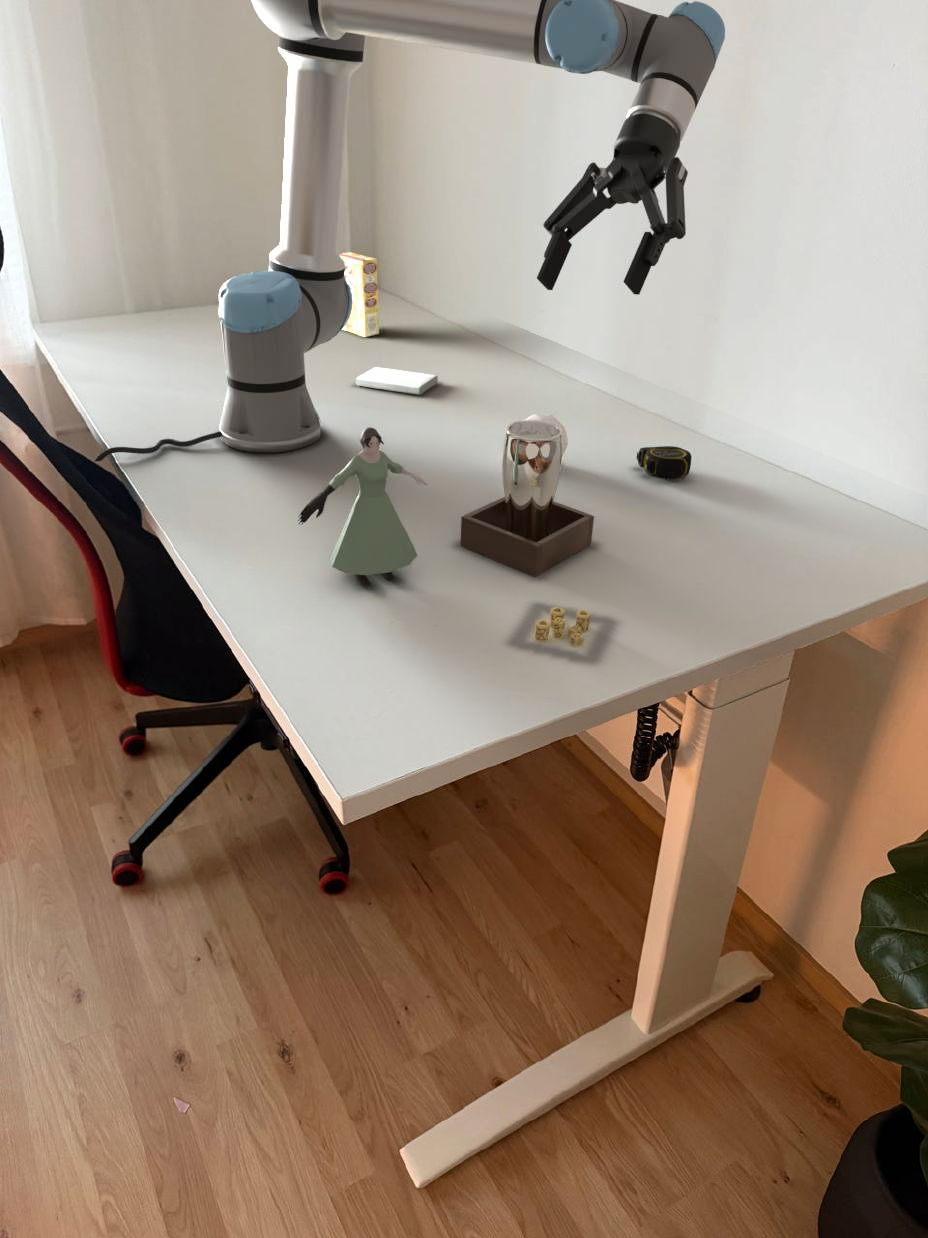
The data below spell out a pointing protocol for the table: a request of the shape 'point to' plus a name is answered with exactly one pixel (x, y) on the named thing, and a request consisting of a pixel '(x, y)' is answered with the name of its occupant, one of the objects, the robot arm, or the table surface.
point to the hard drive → (397, 380)
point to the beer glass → (531, 476)
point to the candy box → (362, 294)
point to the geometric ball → (554, 421)
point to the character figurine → (368, 516)
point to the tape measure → (665, 461)
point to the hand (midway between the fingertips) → (586, 286)
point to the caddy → (518, 552)
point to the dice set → (563, 626)
